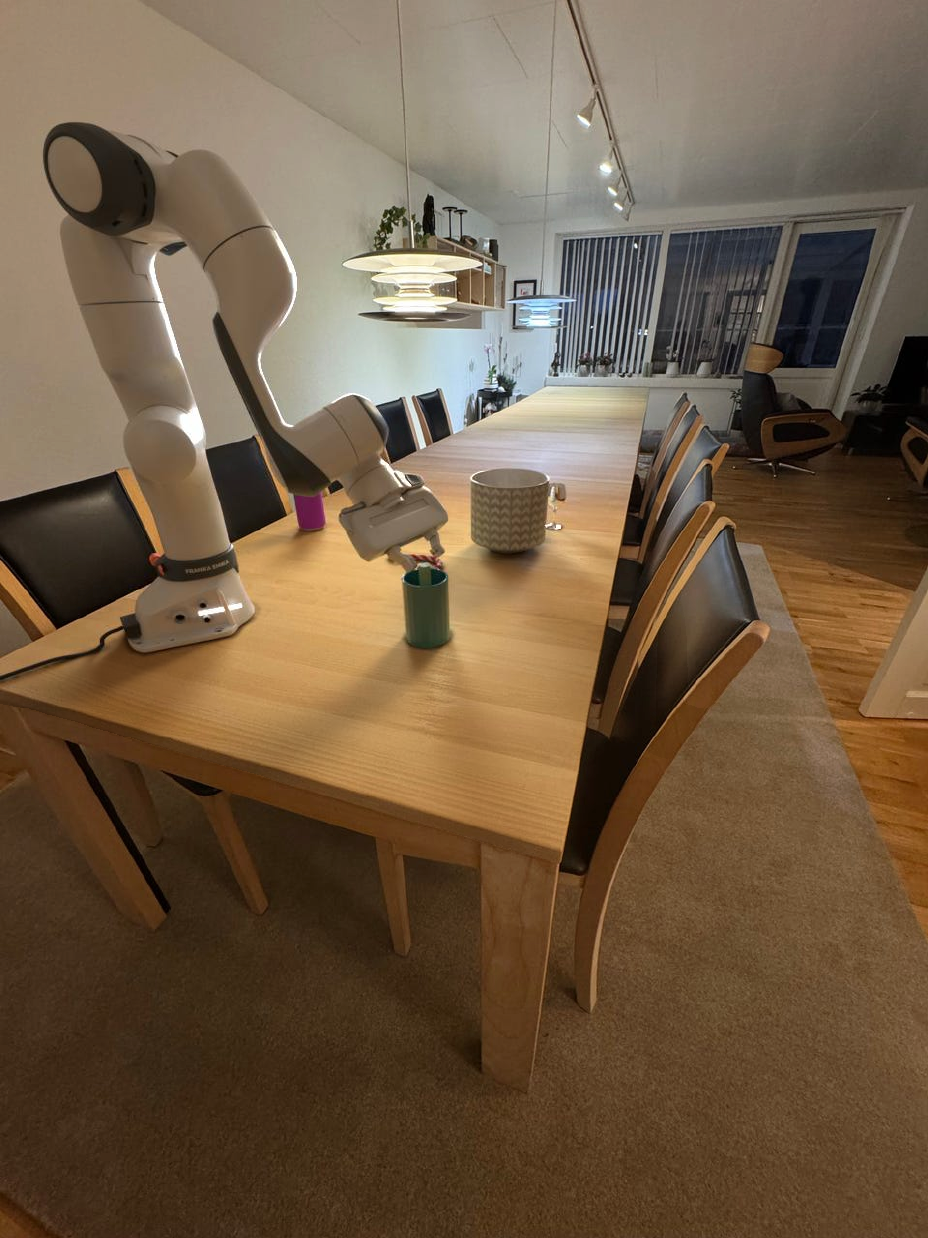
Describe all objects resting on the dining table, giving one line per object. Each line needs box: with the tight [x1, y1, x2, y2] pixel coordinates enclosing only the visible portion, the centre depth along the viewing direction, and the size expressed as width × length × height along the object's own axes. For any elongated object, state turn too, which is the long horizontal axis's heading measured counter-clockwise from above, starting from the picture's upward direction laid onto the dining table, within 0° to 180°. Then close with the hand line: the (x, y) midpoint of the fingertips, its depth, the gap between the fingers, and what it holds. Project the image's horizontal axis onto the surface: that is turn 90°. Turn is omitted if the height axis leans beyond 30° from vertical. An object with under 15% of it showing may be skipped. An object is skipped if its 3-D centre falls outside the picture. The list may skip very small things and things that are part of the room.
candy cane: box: [387, 553, 444, 570], centre depth 124 cm, size 8×1×15 cm
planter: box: [470, 467, 550, 555], centre depth 129 cm, size 19×19×18 cm
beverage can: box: [292, 491, 327, 532], centre depth 146 cm, size 8×8×12 cm
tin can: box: [401, 568, 451, 649], centre depth 92 cm, size 8×8×12 cm
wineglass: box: [546, 482, 567, 531], centre depth 144 cm, size 6×6×12 cm
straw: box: [418, 561, 431, 586], centre depth 91 cm, size 2×2×14 cm
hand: (427, 562), depth 87 cm, fingers open, 6 cm apart
